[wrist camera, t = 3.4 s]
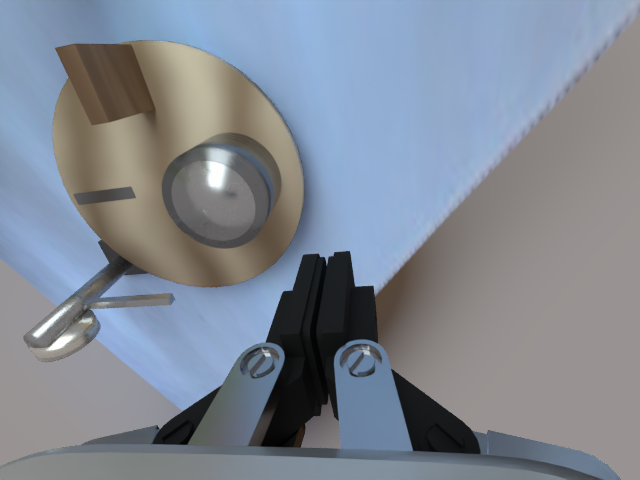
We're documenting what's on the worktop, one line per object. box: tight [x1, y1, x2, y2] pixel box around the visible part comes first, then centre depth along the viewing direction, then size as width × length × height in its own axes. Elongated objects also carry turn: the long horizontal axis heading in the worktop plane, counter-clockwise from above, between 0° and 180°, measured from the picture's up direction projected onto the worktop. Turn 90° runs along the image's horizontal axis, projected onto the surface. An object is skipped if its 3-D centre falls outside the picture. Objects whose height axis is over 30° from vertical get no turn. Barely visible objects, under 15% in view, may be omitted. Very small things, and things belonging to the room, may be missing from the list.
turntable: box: [53, 40, 304, 287], centre depth 25 cm, size 20×20×6 cm
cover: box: [162, 133, 281, 249], centre depth 24 cm, size 7×7×5 cm
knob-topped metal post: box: [24, 240, 175, 362], centre depth 28 cm, size 11×4×12 cm, turn 99°
